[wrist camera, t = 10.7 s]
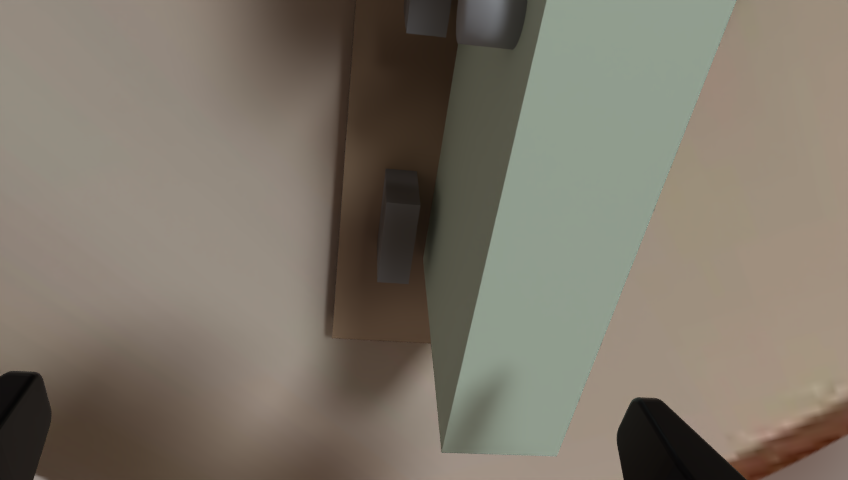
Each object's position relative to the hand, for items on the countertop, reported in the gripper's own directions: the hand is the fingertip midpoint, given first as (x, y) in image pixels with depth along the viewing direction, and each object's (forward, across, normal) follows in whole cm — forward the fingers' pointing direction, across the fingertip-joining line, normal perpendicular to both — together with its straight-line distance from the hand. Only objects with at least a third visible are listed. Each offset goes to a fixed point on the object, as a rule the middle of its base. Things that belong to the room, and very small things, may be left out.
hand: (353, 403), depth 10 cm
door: (+11, -4, 0) cm, 12 cm away
